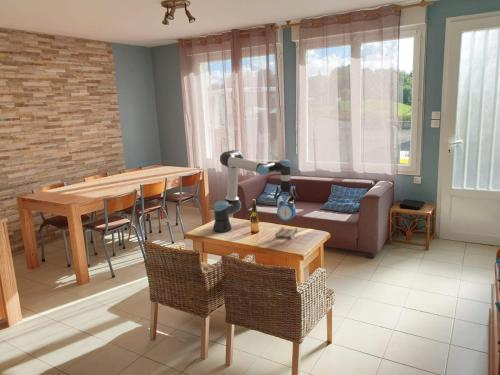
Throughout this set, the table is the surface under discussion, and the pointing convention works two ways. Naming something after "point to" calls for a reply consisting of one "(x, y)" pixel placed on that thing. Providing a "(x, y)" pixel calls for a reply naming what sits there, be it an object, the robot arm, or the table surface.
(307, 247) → the table surface
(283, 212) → the alarm clock
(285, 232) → the plinth
